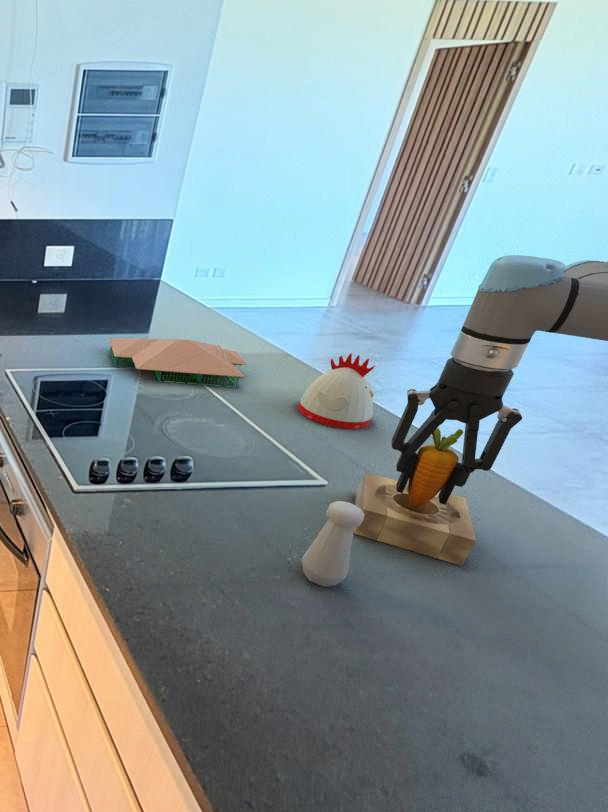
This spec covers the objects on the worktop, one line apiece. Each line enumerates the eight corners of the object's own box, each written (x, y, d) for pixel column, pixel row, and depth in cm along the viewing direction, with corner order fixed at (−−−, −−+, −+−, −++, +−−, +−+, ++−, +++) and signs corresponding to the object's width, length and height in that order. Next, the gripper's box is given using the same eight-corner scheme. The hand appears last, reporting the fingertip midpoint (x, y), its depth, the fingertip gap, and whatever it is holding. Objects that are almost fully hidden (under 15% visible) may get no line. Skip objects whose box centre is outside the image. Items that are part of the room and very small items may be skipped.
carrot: (392, 507, 103) (428, 428, 96) (398, 495, 106) (433, 418, 99) (430, 520, 99) (469, 439, 93) (435, 508, 102) (473, 428, 96)
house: (252, 389, 155) (261, 359, 152) (116, 378, 161) (121, 349, 158) (227, 357, 175) (234, 330, 172) (106, 348, 181) (111, 322, 178)
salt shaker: (341, 573, 94) (371, 503, 88) (344, 596, 90) (375, 523, 84) (297, 560, 97) (323, 491, 91) (297, 582, 92) (325, 510, 87)
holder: (453, 522, 106) (465, 497, 104) (462, 566, 96) (476, 540, 93) (355, 495, 113) (365, 472, 111) (353, 533, 103) (364, 509, 101)
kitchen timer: (357, 434, 134) (382, 371, 127) (288, 413, 144) (308, 353, 137) (377, 416, 142) (401, 356, 135) (311, 397, 151) (330, 339, 145)
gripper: (406, 357, 93) (354, 487, 103) (571, 386, 84) (495, 524, 94) (404, 343, 98) (355, 468, 109) (559, 368, 89) (488, 501, 99)
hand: (420, 494), depth 101 cm, fingers closed on carrot, 5 cm apart
